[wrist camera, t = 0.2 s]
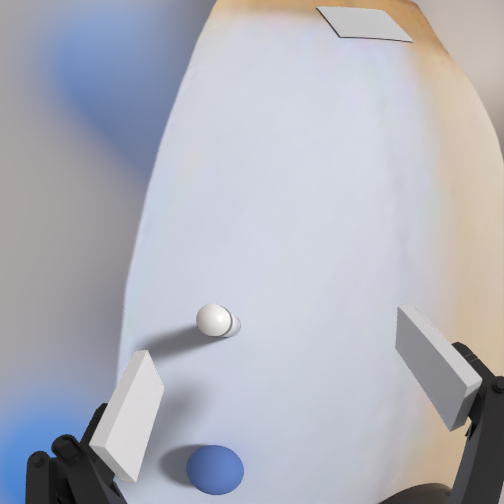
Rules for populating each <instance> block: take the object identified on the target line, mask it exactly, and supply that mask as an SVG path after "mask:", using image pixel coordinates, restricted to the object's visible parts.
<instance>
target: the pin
mask: <svg viewBox="0 0 504 504" xmlns="http://www.w3.org/2000/svg"><path fill="white" fill-rule="evenodd" d="M196 322H197V326H198V328H199V330H200V331H201V332H202V333H204V334H206V335H208V336H212V337H233V336H235V335H236V334H237V333H238V332H239V331H240V328H241V323H240V320H239V318H238V317H237V316H236V315H234V314H232V313H231V312H229V311H228V310H227V309H226V308H224V307H222V306H220V305H217V304H207V305H205V306H203V307H202V308H201V309H200V310H199V312H198V314H197V317H196Z"/></svg>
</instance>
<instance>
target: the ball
mask: <svg viewBox="0 0 504 504" xmlns="http://www.w3.org/2000/svg"><path fill="white" fill-rule="evenodd" d="M243 474H244V468H243V464H242V462H241V460H240V458H239V457H238V456H237V455H236V454H235V453H234V452H233V451H232V450H230V449H228V448H226V447H223V446H218V445H210V446H205V447H202V448H200V449H198V450H197V451H195V452H194V453H193V454H192V455H191V457H190V458H189V460H188V463H187V475H188V478H189V480H190V481H191V483H192V484H193V485H194V486H195V487H196V488H197V489H198V490H200V491H202V492H204V493H207V494H211V495H222V494H226V493H229V492H231V491H233V490H234V489H235V488H237V486H238V485H239V484H240V483H241V481H242V478H243Z"/></svg>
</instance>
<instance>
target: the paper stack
mask: <svg viewBox="0 0 504 504" xmlns="http://www.w3.org/2000/svg"><path fill="white" fill-rule="evenodd" d="M317 8H318V9H319V10H320V12H321V13H322V14H323V15H324V16H325V18H326V19H327V20H328V21H329V23H330V24H331V25H332V26H333V28H334V29H335V30H336V31H337V33H338V34H339V35H340V37H365V38H381V39H393V40H402V41H411V42H414V41H413V40H412V39H411V38H410V37H409V36H408V35H407V34H406V33H405V32H404V30H403V29H402V28H401V27H400V26H399V25H398V24H397V23H396V22H395V21H394V20H393V19H392V18H391V17H390V16H389V15H388V14H387V13H386V12H385V11H383V10H374V9H364V8H349V7H317Z"/></svg>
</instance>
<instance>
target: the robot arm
mask: <svg viewBox="0 0 504 504" xmlns="http://www.w3.org/2000/svg"><path fill="white" fill-rule="evenodd" d="M395 348H396V350H397V351H398V353H399V354H400V356H401V357H402V358H403V360H404V361H405V363H406V364H407V366H408V367H409V369H410V370H411V372H412V373H413V375H414V376H415V378H416V379H417V381H418V382H419V384H420V385H421V387H422V388H423V390H424V391H425V393H426V394H427V396H428V397H429V399H430V401H431V402H432V404H433V405H434V407H435V408H436V410H437V412H438V413H439V415H440V416H441V418H442V419H443V421H444V423H445V424H446V426H447V428H448V429H449V431H450V432H451V431H453V430H455V429H457V428H459V427H461V426H463V425H464V424H465V422H466V420H467V417H468V416H469V418H470V419H471V421H472V422H471V425H470V427H469V429H468V431H467V433H466V435H465V436H468V437H467V441H466V445H465V449H464V452H463V456H462V460H461V463H460V466H459V470H458V473H457V476H456V479H455V482H454V485H453V488H452V489H451V488H449V487H448V486H446V485H443V484H438V483H430V484H423V485H419V486H415V487H412V488H410V489H407V490H405V491H402V492H400V493H398V494H396V495H395V496H393V497H391V498H389V499H388V500H386V501H385V502H383V503H382V504H498V502H499V498H500V494H501V490H502V486H503V481H504V377H503V376H496V377H495V376H494V375H493V373H492V372H491V371H490V370H489V369H488V368H487V367H486V366H485V365H484V364H483V363H482V362H481V360H480V359H478V357H477V356H476V355H475V354H473V352H472V351H471V350H470V349H469V348H468V347H467V346H466V345H464V344H462V343H460V342H456V343H453V344H450V343H449V342H448V340H447V339H446V338H445V337H444V336H443V335H442V334H441V333H440V332H439V331H438V330H437V329H436V328H435V327H434V326H433V325H432V324H431V323H430V322H429V321H428V320H427V319H426V318H425V317H424V316H423V315H422V314H421V313H420V312H419V311H418V310H417V309H416V308H415V307H414V306H413V305H412V304H411V303H406V304H403V305H399V306H398V316H397V333H396V345H395ZM164 389H165V387H164V385H163V383H162V381H161V379H160V377H159V375H158V372H157V370H156V368H155V366H154V363H153V361H152V359H151V357H150V354H149V352H148V350H141V351H135V352H134V354H133V356H132V358H131V360H130V362H129V364H128V365H127V367H126V369H125V371H124V373H123V375H122V377H121V379H120V381H119V383H118V385H117V387H116V389H115V391H114V393H113V395H112V397H111V399H110V401H109V403H103V404H102V405H101V406H100V407H99V408H98V409H97V410H96V411H95V413H94V415H93V417H92V419H91V421H90V423H89V426H88V427H87V429H86V431H85V433H84V435H83V437H82V439H81V441H80V443H79V442H78V441H77V440H76V438H75V437H74V436H72V435H68V434H66V435H62V436H60V437H58V438H56V440H55V441H54V442H53V444H52V446H51V450H52V452H53V453H54V454H55V455H56V456H57V457H56V458H50V456H49V455H48V454H47V453H46V452H44V451H37V452H34V453H33V454H32V455H31V456H30V457H29V459H28V462H27V474H26V499H25V502H26V503H25V504H127V502H126V500H125V499H124V497H123V495H122V493H121V492H120V490H119V488H118V486H117V484H116V483H115V482H114V481H113V478H114V475H116V476H117V477H118V478H119V479H120V480H121V481H126V482H133V483H136V482H137V478H138V475H139V471H140V468H141V464H142V461H143V457H144V454H145V450H146V447H147V444H148V440H149V437H150V434H151V430H152V427H153V424H154V420H155V417H156V414H157V411H158V408H159V404H160V401H161V398H162V395H163V392H164Z"/></svg>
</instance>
